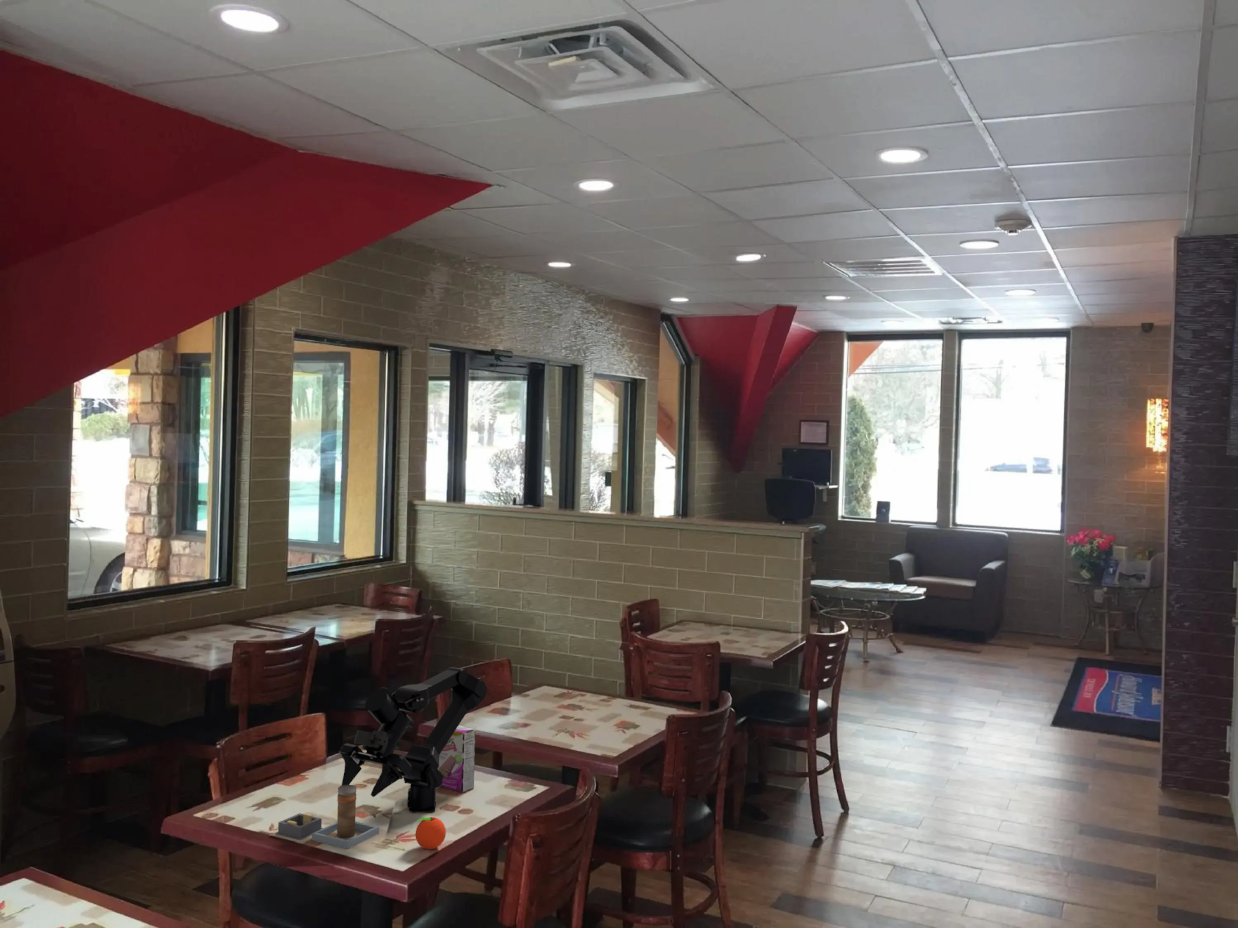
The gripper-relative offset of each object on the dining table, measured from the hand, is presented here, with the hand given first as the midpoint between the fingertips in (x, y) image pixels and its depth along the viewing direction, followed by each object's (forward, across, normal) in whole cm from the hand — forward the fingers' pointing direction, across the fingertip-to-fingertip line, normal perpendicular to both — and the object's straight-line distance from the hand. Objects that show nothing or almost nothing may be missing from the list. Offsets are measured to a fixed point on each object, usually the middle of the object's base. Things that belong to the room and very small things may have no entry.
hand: (357, 792), depth 236 cm
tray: (+10, 0, +5) cm, 11 cm away
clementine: (+5, +18, +11) cm, 21 cm away
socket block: (+12, -11, +3) cm, 17 cm away
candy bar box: (-21, -4, +37) cm, 43 cm away
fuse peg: (+10, 0, +5) cm, 11 cm away
